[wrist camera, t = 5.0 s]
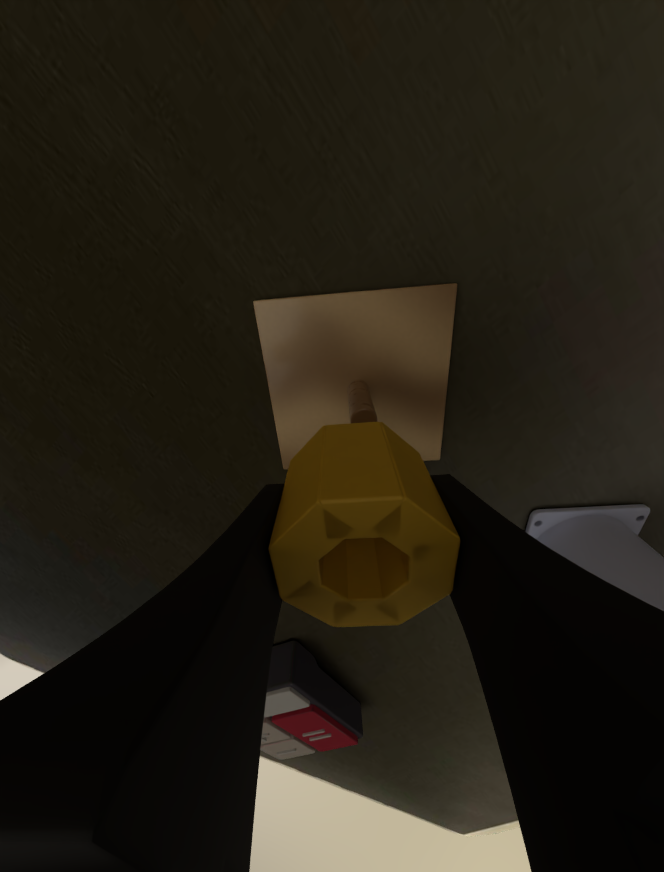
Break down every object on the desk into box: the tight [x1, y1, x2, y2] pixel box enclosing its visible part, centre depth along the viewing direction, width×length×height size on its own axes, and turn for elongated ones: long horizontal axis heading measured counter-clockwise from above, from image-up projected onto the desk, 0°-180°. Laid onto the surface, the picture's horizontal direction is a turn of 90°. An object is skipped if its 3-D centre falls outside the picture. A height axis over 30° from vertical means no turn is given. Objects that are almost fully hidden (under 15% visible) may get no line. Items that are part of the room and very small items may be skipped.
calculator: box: [260, 641, 363, 760], centre depth 32 cm, size 11×4×15 cm
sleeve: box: [268, 422, 460, 627], centre depth 9 cm, size 5×5×4 cm
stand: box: [253, 283, 457, 469], centre depth 15 cm, size 10×10×5 cm
